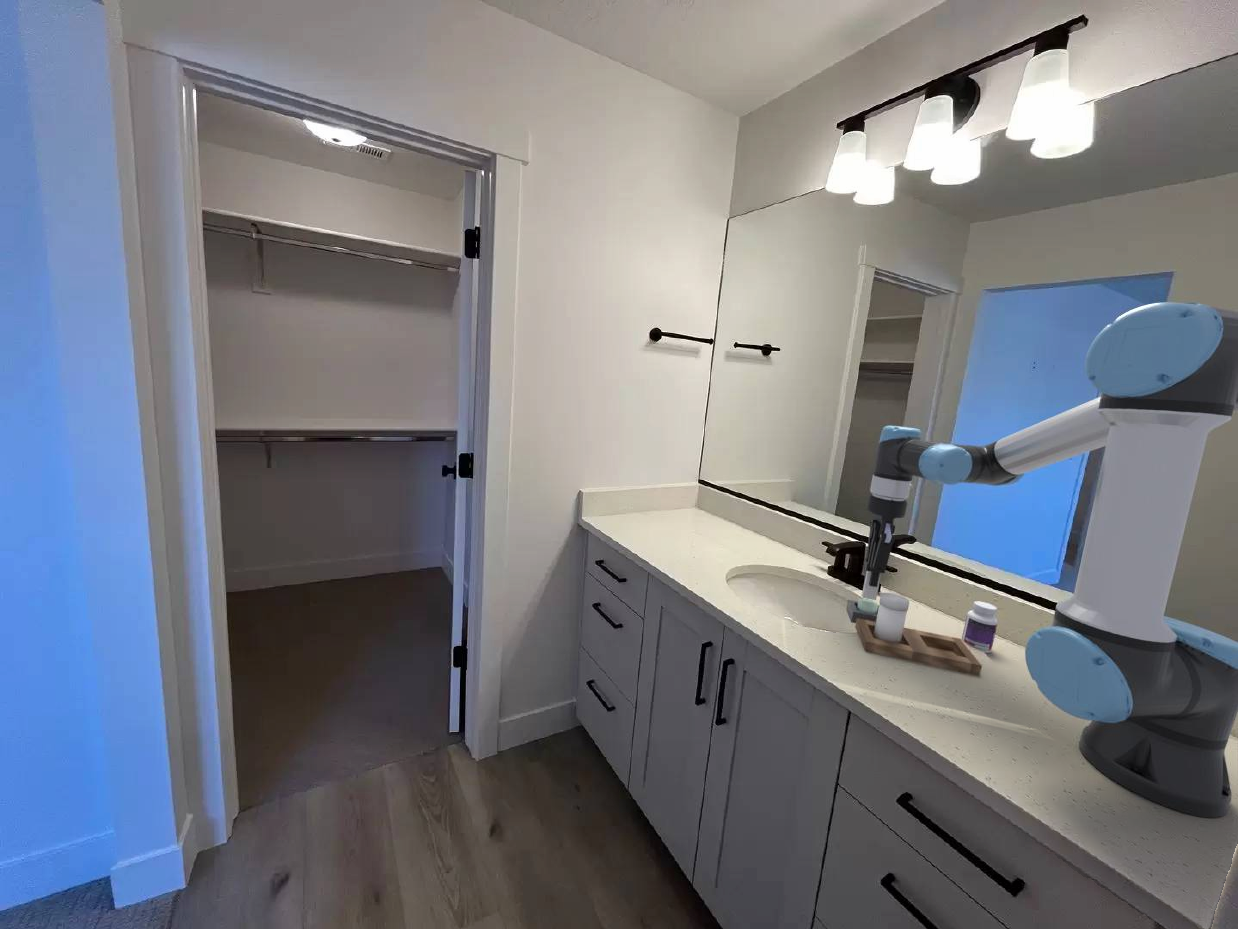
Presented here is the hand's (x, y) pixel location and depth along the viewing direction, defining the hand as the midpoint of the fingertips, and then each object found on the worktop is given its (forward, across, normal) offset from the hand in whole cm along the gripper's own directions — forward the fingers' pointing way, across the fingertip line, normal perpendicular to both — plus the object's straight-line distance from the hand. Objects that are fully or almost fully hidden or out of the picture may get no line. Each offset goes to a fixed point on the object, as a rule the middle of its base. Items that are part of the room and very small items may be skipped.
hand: (868, 597), depth 114 cm
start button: (+4, 0, 0) cm, 4 cm away
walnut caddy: (+6, -11, -7) cm, 14 cm away
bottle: (+5, -11, -2) cm, 12 cm away
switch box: (+6, 0, 0) cm, 6 cm away
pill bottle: (+6, -1, -22) cm, 23 cm away
